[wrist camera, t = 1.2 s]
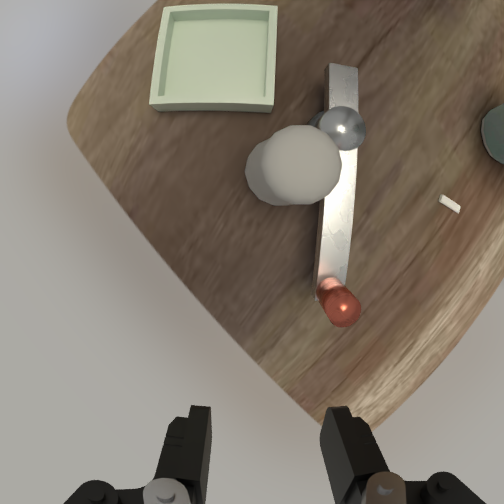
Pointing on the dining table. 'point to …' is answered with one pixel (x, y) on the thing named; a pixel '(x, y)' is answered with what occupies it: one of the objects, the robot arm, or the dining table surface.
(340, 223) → the crank
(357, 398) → the dining table surface
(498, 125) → the disposable coffee cup
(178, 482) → the robot arm
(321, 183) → the salt shaker
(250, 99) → the tray
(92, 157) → the dining table surface
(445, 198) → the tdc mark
